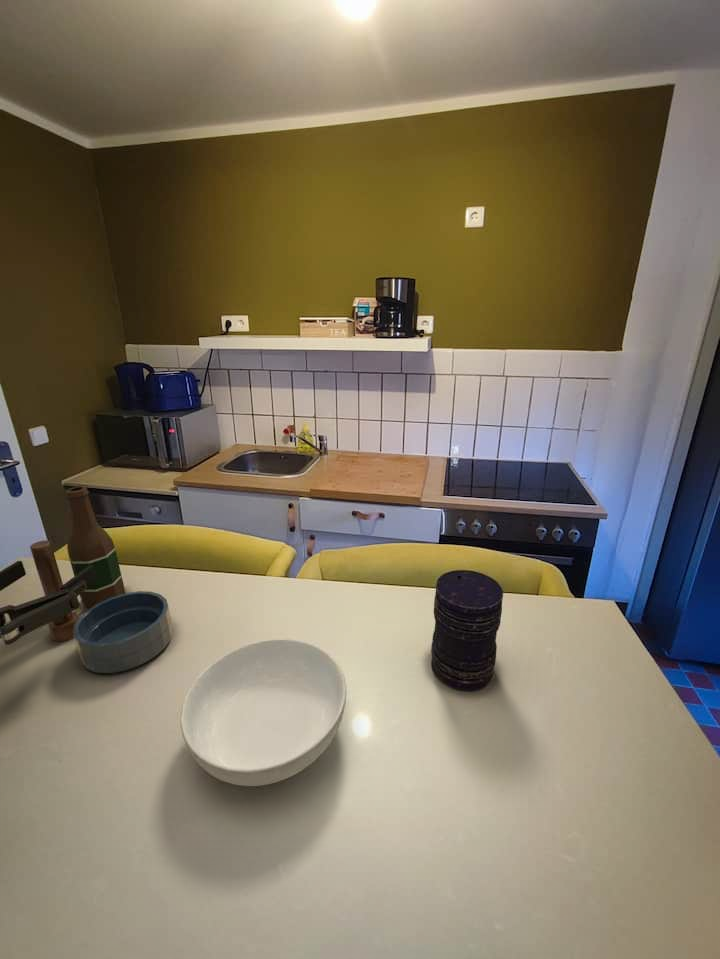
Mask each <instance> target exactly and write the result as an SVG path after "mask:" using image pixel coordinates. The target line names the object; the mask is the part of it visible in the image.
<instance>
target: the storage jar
mask: <svg viewBox="0 0 720 959" xmlns="http://www.w3.org/2000/svg"><path fill="white" fill-rule="evenodd" d="M503 599H504V590H503V587H502V585H501V584H500V583H499V582H498V581H497V580H496V579H494V578H493V577H491V576H489V575H488V574H486V573H482V572H480V571H476V570H469V569H455V570H451V571H447V572H445V573H443V574H441V575H440V576H439V577H438V578H437V579H436V582H435V594H434V600H433V617H434V631H433V633H432V641H431V646H430V647H431V648H430V651H431V652H430V653H431V654H430V655H431V659H430V660H431V661H430V667H431V671H432V673H433V675H434V676H435V678H436V679H437V680H438V681H439V682H440V683H442V684H443V685H444V686H446V687H448V688H449V689H452V690H454V691H456V692H457V691H458V692H463V693H473V692H478V691H481V690H484V689H485V688H487V687H488V686H489V685H490V684H491V682H492V681H493V677H494V670H495V666H496V660H497V647H498V645H497V636H498V635H497V634H498V631H499V629H500V625H501V618H502V614H503Z"/></svg>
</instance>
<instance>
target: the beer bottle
mask: <svg viewBox="0 0 720 959" xmlns="http://www.w3.org/2000/svg"><path fill="white" fill-rule="evenodd" d="M89 494H90V491H89V490H88V488H87V487H86V486H85V485H83V486H82V485H80V486H72V487H70V488H68V489H66V490H65V491H64V496H65V497H66V499H67V501H68V506H69V512H70V517H71V522H72V531H71V533H70V536H69V537H68V540H67V545H66V549H67V555H68V558H69V562H70V566H71V569H72V573H73V577H74V576H76V575H77V574H78V573H80V572H81V571H83V570H84V569H85V568H87V567H88V566H89V565H91V566H94V570H95V574H96V577H97V580H95V581H94V582H93V583H92V584H90V585H89V586H88V587H87V589H86V590H85V591H83V592H82V593H81V594H80V595H79V597H80V600H81V603H82V605H83V606H84V608H85V609H86V611H87V610H88V609H90V608H92V607H93V606H95V605H96V604H98V603H100V602H102V601H104V600H107V599H109V598H111V597H114V596H118V595H121V594H125V593H126V589H125V585H124V580H123V576H122V575H123V574H122V572H121V568H120V564H119V559H118V554H117V551H116V546H115V543H114V540H113V538H112V537H111V536H110V535H109V533H108V532H107V531H106V530H105V529H104V528H103V527H102V526H101V525H99V523H98V521H97V519H96V515H95V513H94V509H93V506H92V503H91V501H90V497H89Z"/></svg>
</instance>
